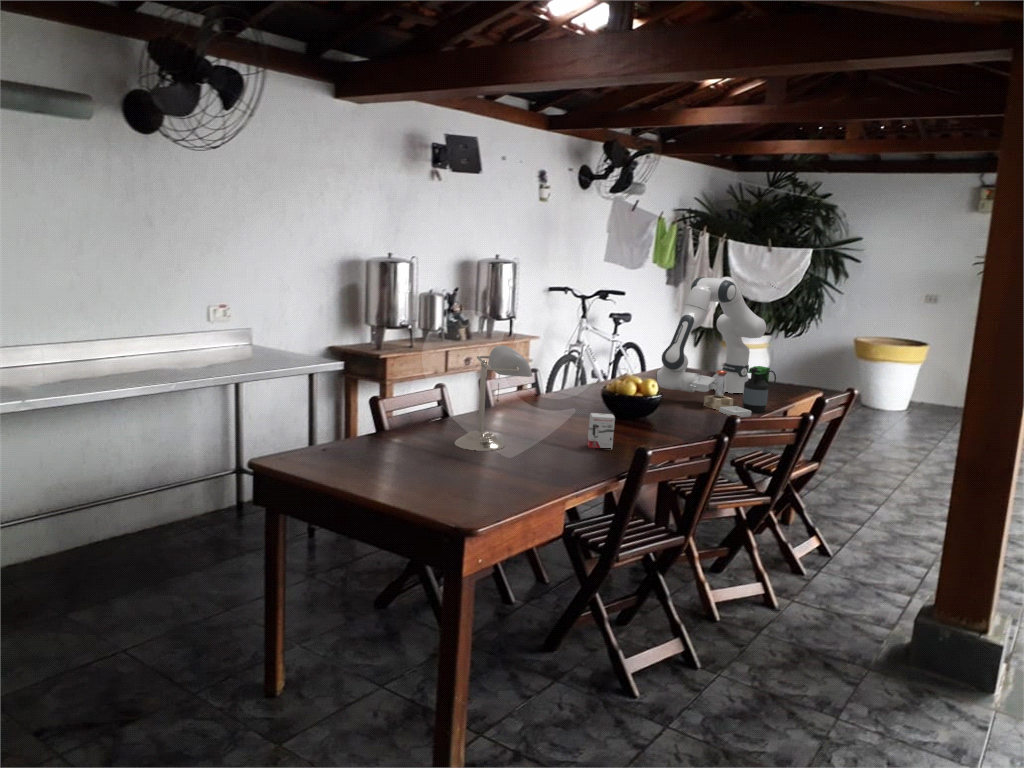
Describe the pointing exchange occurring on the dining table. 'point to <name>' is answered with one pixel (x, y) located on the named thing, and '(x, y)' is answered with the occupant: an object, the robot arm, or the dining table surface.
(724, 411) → the tray
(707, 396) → the block
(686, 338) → the robot arm
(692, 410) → the dining table surface
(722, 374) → the pin
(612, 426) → the ink box
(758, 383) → the grenade
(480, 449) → the lamp
